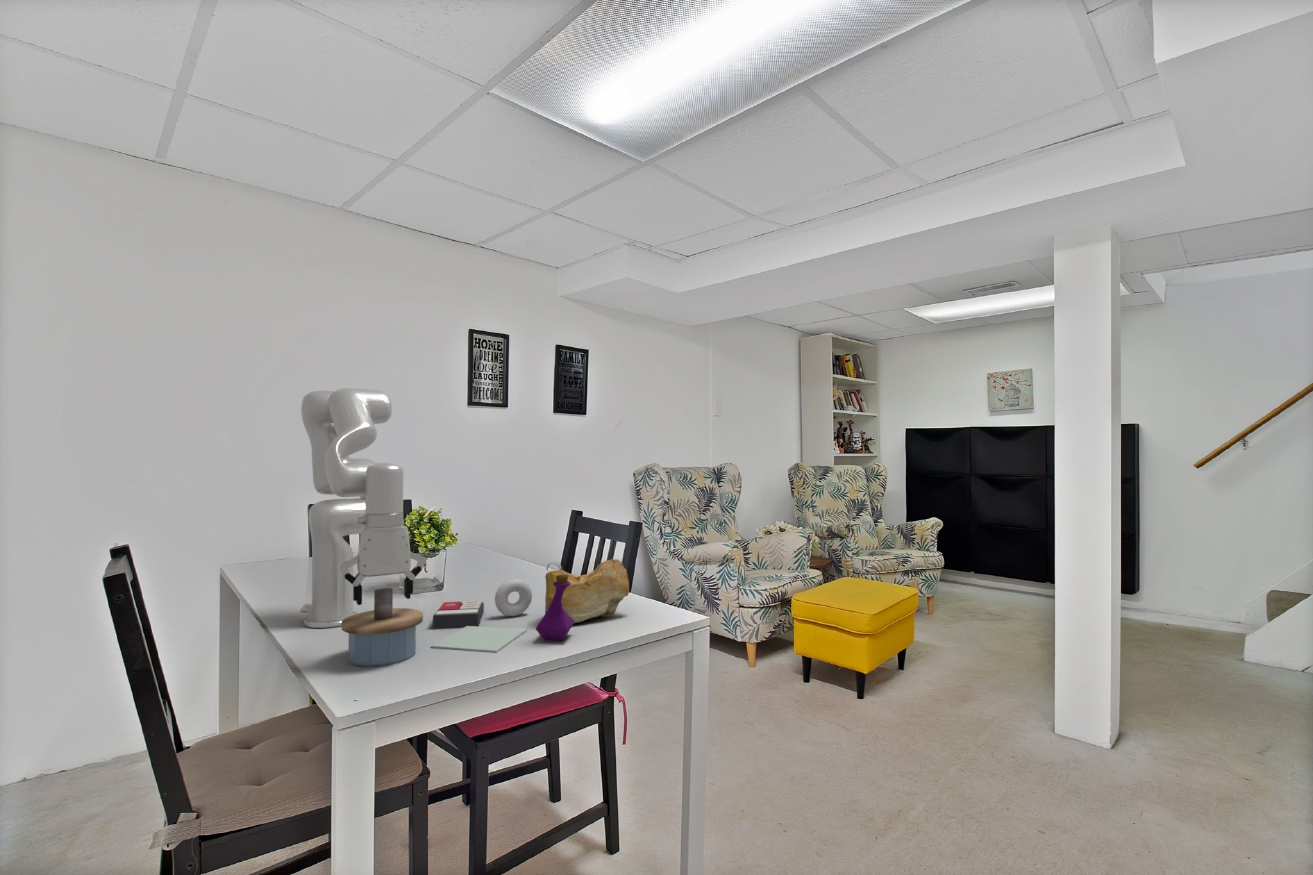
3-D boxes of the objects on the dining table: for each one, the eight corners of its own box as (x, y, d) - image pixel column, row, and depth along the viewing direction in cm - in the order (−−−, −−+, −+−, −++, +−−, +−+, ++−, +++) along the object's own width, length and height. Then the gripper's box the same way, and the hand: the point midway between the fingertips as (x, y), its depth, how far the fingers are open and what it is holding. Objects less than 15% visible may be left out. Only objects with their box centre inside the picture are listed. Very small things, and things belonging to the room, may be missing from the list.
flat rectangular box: (484, 599, 167) (478, 610, 152) (483, 615, 167) (478, 627, 152) (442, 601, 165) (432, 612, 150) (442, 617, 165) (432, 630, 150)
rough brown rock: (611, 607, 175) (608, 554, 176) (636, 615, 160) (632, 558, 161) (532, 620, 164) (529, 564, 165) (551, 630, 149) (547, 569, 150)
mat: (430, 647, 136) (430, 645, 136) (466, 627, 151) (466, 625, 151) (496, 652, 132) (496, 650, 132) (526, 631, 148) (526, 629, 148)
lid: (323, 632, 124) (324, 596, 124) (374, 611, 140) (375, 580, 140) (393, 636, 121) (393, 600, 121) (437, 615, 137) (437, 583, 137)
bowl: (335, 664, 125) (335, 630, 125) (376, 644, 138) (376, 613, 138) (390, 668, 123) (391, 634, 123) (427, 648, 135) (427, 616, 135)
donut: (496, 620, 158) (496, 581, 158) (493, 617, 161) (493, 579, 161) (533, 615, 163) (533, 578, 163) (529, 612, 166) (529, 575, 166)
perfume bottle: (574, 634, 146) (574, 559, 146) (567, 643, 138) (567, 565, 139) (544, 633, 147) (544, 558, 147) (535, 642, 139) (535, 564, 140)
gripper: (341, 525, 123) (340, 610, 123) (430, 520, 133) (429, 598, 132) (337, 522, 129) (336, 602, 129) (422, 517, 139) (421, 592, 138)
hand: (383, 600), depth 130 cm, fingers open, 9 cm apart
